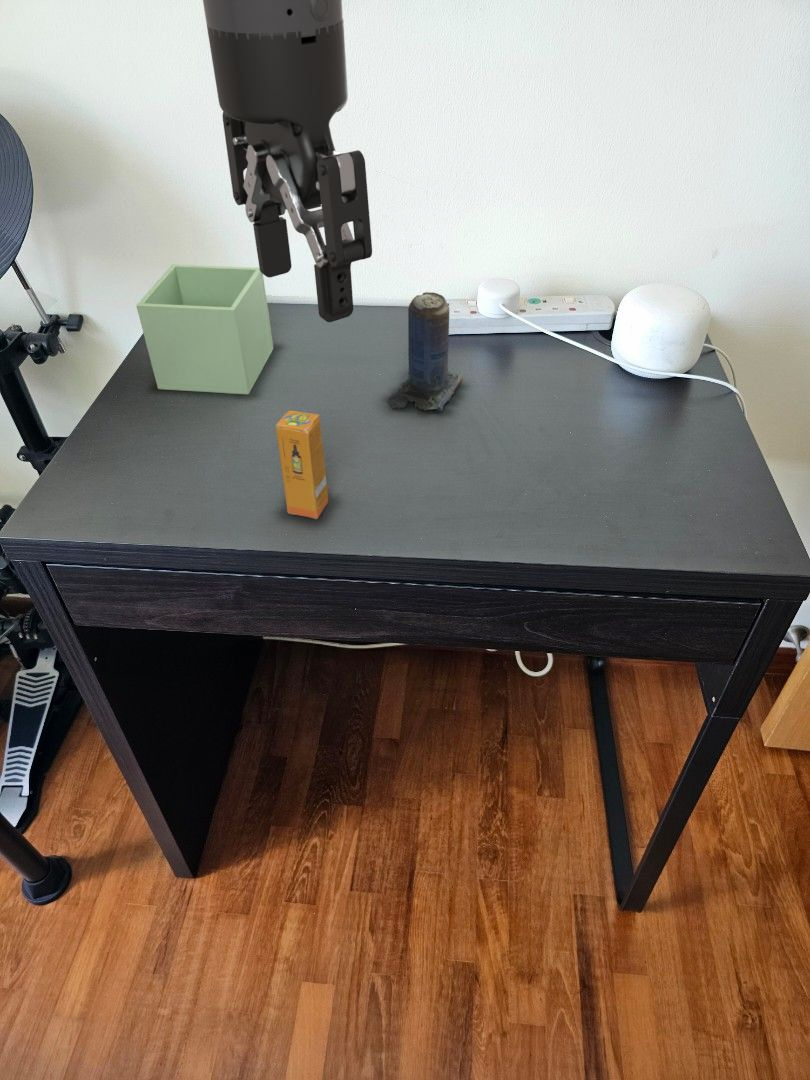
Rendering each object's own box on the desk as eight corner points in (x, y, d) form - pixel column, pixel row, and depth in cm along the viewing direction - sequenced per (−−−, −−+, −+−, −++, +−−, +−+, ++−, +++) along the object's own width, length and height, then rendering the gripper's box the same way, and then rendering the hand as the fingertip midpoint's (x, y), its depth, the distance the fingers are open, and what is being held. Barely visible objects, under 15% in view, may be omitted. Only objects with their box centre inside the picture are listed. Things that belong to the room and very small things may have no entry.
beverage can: (451, 417, 88) (454, 317, 80) (384, 410, 90) (381, 310, 82) (464, 376, 95) (468, 280, 87) (402, 370, 96) (400, 274, 88)
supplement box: (331, 499, 78) (322, 413, 71) (317, 521, 75) (306, 433, 69) (300, 493, 79) (289, 407, 72) (285, 514, 76) (272, 427, 69)
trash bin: (248, 394, 93) (234, 309, 86) (157, 389, 94) (135, 305, 87) (273, 348, 101) (262, 267, 94) (189, 344, 102) (172, 264, 95)
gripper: (161, 6, 46) (212, 274, 57) (272, 42, 37) (307, 351, 48) (275, -8, 49) (303, 249, 60) (403, 23, 41) (408, 318, 51)
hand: (305, 294), depth 54 cm, fingers open, 8 cm apart
